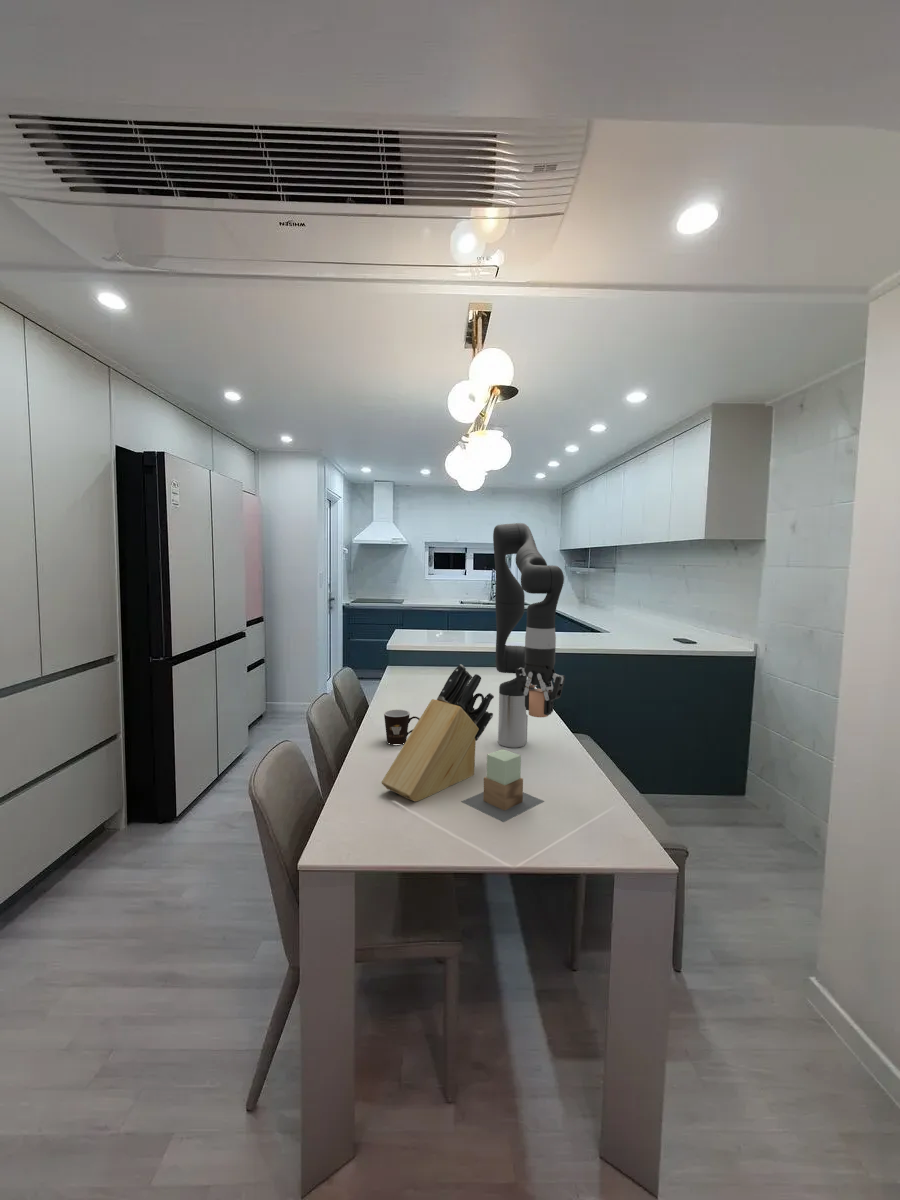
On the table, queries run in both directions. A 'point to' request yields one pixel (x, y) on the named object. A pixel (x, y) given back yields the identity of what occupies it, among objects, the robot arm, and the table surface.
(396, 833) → the table surface
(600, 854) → the table surface
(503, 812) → the mat
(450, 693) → the knife block
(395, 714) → the coffee mug
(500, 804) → the bottom block
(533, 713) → the tan rounded cylinder
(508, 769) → the top block
